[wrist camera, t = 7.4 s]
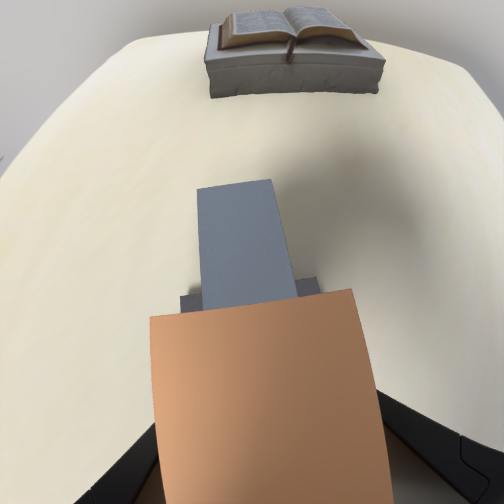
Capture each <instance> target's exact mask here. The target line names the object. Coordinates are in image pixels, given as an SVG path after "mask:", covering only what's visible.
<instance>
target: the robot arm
mask: <svg viewBox="0 0 504 504" xmlns="http://www.w3.org/2000/svg"><path fill="white" fill-rule="evenodd" d="M376 391H377V396H378V401H379V407H380V412H381V417H382V423H383V429H384V434H385V441H386V447H387V453H388V460H389V467H390V475H391V483H392V492H393V501H394V504H504V452H501V451H498V450H495V449H492V448H490V447H487V446H484V445H482V444H480V443H478V442H475V441H473V440H471V439H469V438H467V437H465V436H463V435H461V436H460V434H459V433H457V432H455V431H453V430H451V429H449V428H447V427H445V426H443V425H441V424H439V423H437V422H435V421H433V420H432V419H430V418H428V417H426V416H424V415H422V414H420V413H418V412H417V411H415V410H413V409H411V408H409V407H407V406H406V405H404V404H402V403H400V402H398V401H396V400H395V399H393V398H391V397H389V396H388V395H386V394H384V393H382V392H380V391H379V390H377V389H376ZM90 489H91V490H88V491H87V492H86V493H84V494H83V495H82V496H81V497H80V498H79V499H78V500H77V501H76V502H75V503H74V504H166V499H165V493H164V487H163V481H162V474H161V467H160V460H159V453H158V444H157V436H156V426H155V422H154V423H153V424H152V425H151V426H150V428H149V429H148V430H147V431H146V432H145V433H144V434H143V435H142V436H141V437H140V438H139V439H138V440H137V441H136V442H135V443H134V444H133V445H132V446H131V447H130V448H129V449H128V451H127V452H126V453H125V454H124V455H123V456H122V457H121V458H120V459H119V460H118V461H117V462H116V463H115V464H114V465H113V466H112V467H111V468H110V469H109V470H108V471H107V472H106V473H105V474H104V475H103V476H102V477H101V478H100V479H99V480H98V481H97V482H96V483H95V484H94V485H93V486H92V487H91V488H90Z"/></svg>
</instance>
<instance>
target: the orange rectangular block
mask: <svg viewBox="0 0 504 504" xmlns="http://www.w3.org/2000/svg"><path fill="white" fill-rule="evenodd" d="M150 354H151V375H152V391H153V404H154V416H155V426H156V436H157V444H158V453H159V460H160V467H161V474H162V481H163V487H164V493H165V499H166V504H394V501H393V492H392V483H391V475H390V467H389V460H388V453H387V447H386V441H385V434H384V429H383V423H382V417H381V412H380V407H379V401H378V396H377V391H376V387H375V382H374V377H373V373H372V368H371V364H370V359H369V355H368V351H367V346H366V342H365V338H364V334H363V330H362V326H361V322H360V319H359V315H358V311H357V307H356V304H355V300H354V296H353V293H352V289H351V288H350V289H345V290H339V291H334V292H328V293H322V294H316V295H310V296H304V297H298V298H291V299H285V300H279V301H272V302H265V303H258V304H251V305H244V306H237V307H229V308H221V309H214V310H205V311H197V312H188V313H180V314H170V315H161V316H151V317H150Z"/></svg>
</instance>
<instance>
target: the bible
mask: <svg viewBox="0 0 504 504" xmlns="http://www.w3.org/2000/svg"><path fill="white" fill-rule="evenodd" d="M385 62H386V60H385V59H384V58H383V57H382V56H381V55H380V54H379V53H378V52H377V51H376V50H375V49H374V48H373V47H372V46H371V45H370V44H369V43H367V42H366V41H365V40H364V39H363V38H362V37H360V36H359V35H358V34H357V33H356V32H355V31H354V30H352V29H351V28H350V27H349V26H348V25H346V24H345V23H344V22H341V21H340V20H339V19H338V18H336V17H335V16H334V15H333V14H332V12H331V11H330V10H329V9H328V8H326V7H310V6H292V7H289V8H287V9H286V10H285V11H284V12H283V13H279V12H277V11H275V10H259V11H250V12H238V13H237V12H236V13H232V14H231V15H229V16H228V17H227V18H226V20H225V22H224V23H218V24H211V26H210V29H209V35H208V42H207V47H206V51H205V56H204V63H205V64H206V69H207V73H208V76H209V79H210V96H211V97H210V98H211V99H214V98H223V97H230V96H236V95H248V94H266V93H294V92H324V91H326V92H337V93H353V94H358V93H359V94H365V93H373V94H376V93H378V91H379V88H378V85H377V84H378V82H379V81H380V79H381V76H382V73H383V67H384V64H385Z"/></svg>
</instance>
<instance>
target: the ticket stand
mask: <svg viewBox="0 0 504 504" xmlns="http://www.w3.org/2000/svg"><path fill="white" fill-rule="evenodd" d="M197 208H198V233H199V253H200V271H201V287H202V293H201V294H194V295H185V296H180V306H181V313H188V312H197V311H205V310H214V309H221V308H229V307H237V306H244V305H251V304H258V303H265V302H272V301H279V300H285V299H291V298H298V297H304V296H310V295H316V294H320V291H319V287H318V282H317V278H316V277H314V278H307V279H301V280H294V277H293V272H292V267H291V263H290V258H289V254H288V249H287V245H286V240H285V236H284V232H283V227H282V223H281V219H280V214H279V210H278V206H277V202H276V198H275V193H274V189H273V185H272V181H271V179H267V180H259V181H251V182H243V183H236V184H228V185H221V186H214V187H208V188H201V189H197Z"/></svg>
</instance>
